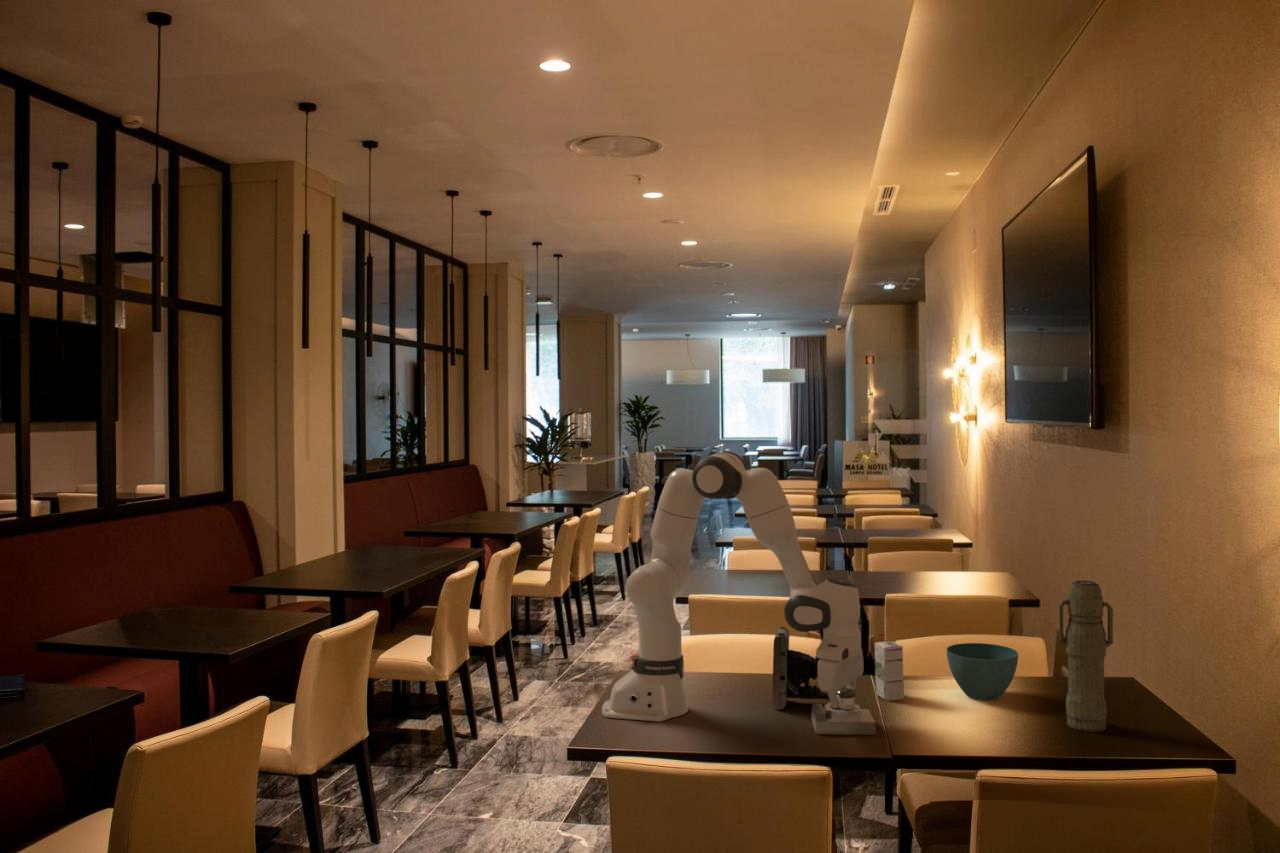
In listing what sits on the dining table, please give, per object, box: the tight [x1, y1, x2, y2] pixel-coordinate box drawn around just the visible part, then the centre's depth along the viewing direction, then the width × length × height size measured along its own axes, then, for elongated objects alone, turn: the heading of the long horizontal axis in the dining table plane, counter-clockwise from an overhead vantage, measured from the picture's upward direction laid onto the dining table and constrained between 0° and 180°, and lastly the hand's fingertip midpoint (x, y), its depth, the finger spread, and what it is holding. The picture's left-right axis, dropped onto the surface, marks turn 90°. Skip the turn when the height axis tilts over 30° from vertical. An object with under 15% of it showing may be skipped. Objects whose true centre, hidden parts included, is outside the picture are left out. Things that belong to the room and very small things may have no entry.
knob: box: [835, 687, 856, 711], centre depth 230 cm, size 5×5×6 cm
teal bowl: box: [946, 642, 1019, 701], centre depth 255 cm, size 18×18×12 cm
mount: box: [810, 702, 876, 736], centre depth 231 cm, size 14×10×5 cm
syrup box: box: [874, 640, 905, 702], centre depth 254 cm, size 6×6×14 cm
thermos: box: [1058, 580, 1114, 733], centre depth 229 cm, size 9×12×35 cm
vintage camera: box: [771, 626, 830, 711], centre depth 248 cm, size 10×16×20 cm, turn 79°
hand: (842, 701), depth 231 cm, fingers open, 8 cm apart
